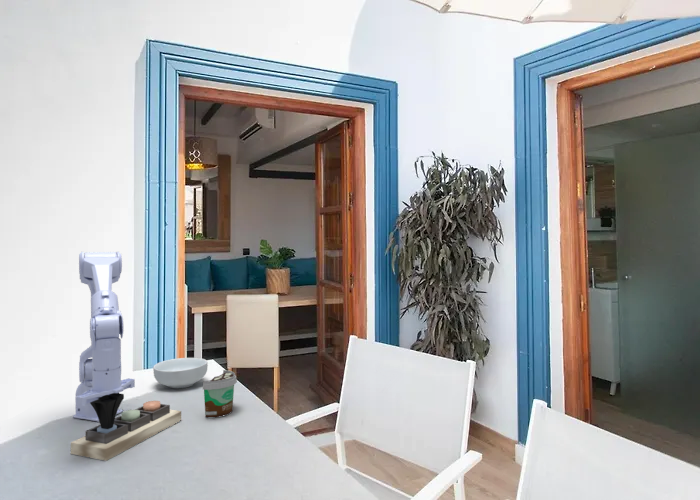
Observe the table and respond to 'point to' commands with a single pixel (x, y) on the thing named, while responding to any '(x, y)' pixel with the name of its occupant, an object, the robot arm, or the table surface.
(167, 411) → the button board
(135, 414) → the button sage
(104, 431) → the button blue
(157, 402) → the button terracotta
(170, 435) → the table surface
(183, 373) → the cereal bowl
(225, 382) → the food container
